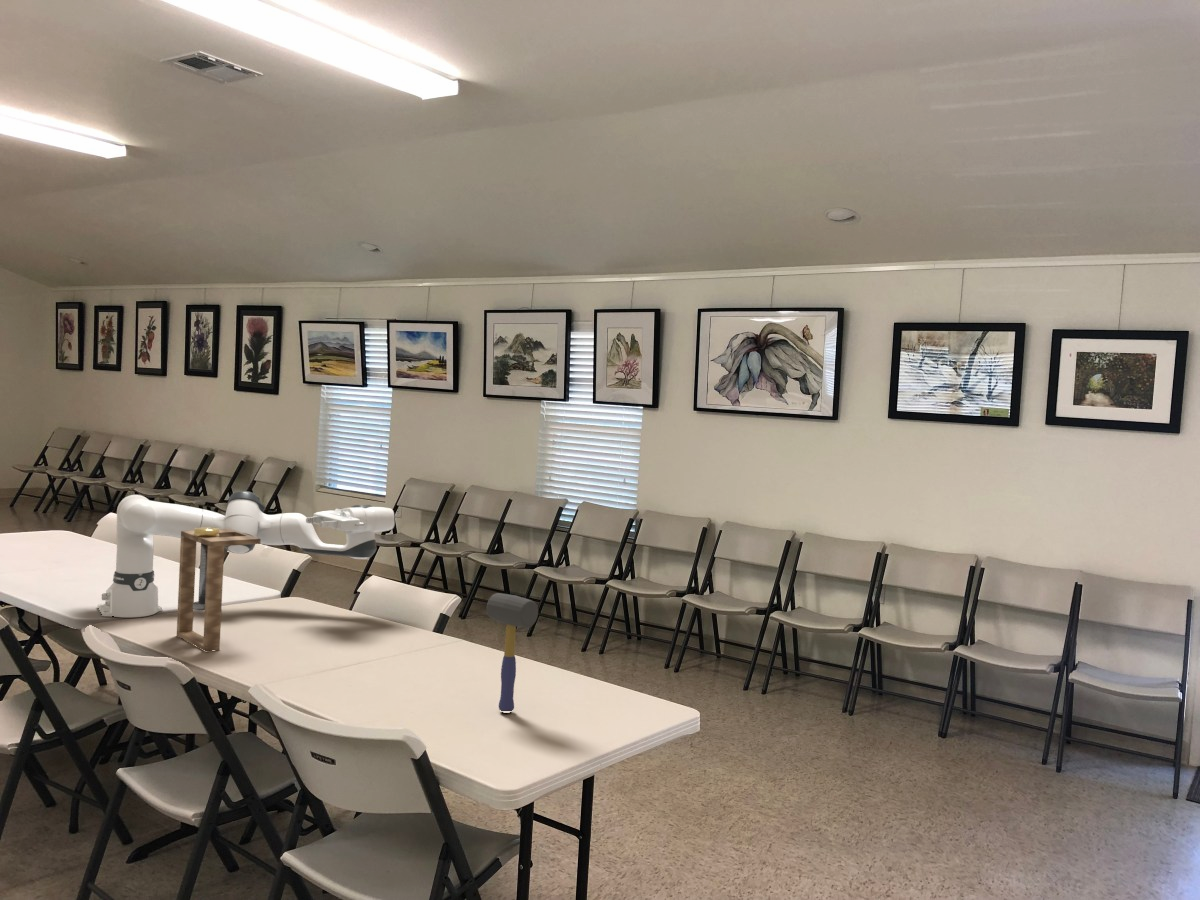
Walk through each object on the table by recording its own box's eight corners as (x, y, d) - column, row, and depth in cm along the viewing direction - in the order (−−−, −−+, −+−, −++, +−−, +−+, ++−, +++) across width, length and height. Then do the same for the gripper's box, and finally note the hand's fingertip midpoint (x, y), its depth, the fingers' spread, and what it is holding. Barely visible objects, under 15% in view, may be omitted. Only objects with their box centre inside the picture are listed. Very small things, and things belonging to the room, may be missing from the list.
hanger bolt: (187, 606, 284) (190, 527, 283) (210, 604, 289) (213, 526, 288) (196, 611, 279) (200, 531, 278) (219, 609, 284) (223, 530, 283)
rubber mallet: (477, 710, 239) (484, 593, 238) (497, 703, 245) (504, 589, 244) (514, 722, 232) (521, 601, 230) (534, 715, 238) (541, 597, 236)
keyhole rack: (224, 629, 300) (229, 528, 299) (255, 645, 285) (260, 538, 283) (176, 635, 290) (181, 531, 288) (205, 652, 274) (210, 541, 273)
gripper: (367, 534, 310) (329, 536, 300) (336, 526, 324) (298, 527, 315) (368, 515, 310) (330, 516, 300) (337, 507, 324) (299, 509, 314)
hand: (313, 522), depth 307 cm, fingers open, 8 cm apart
